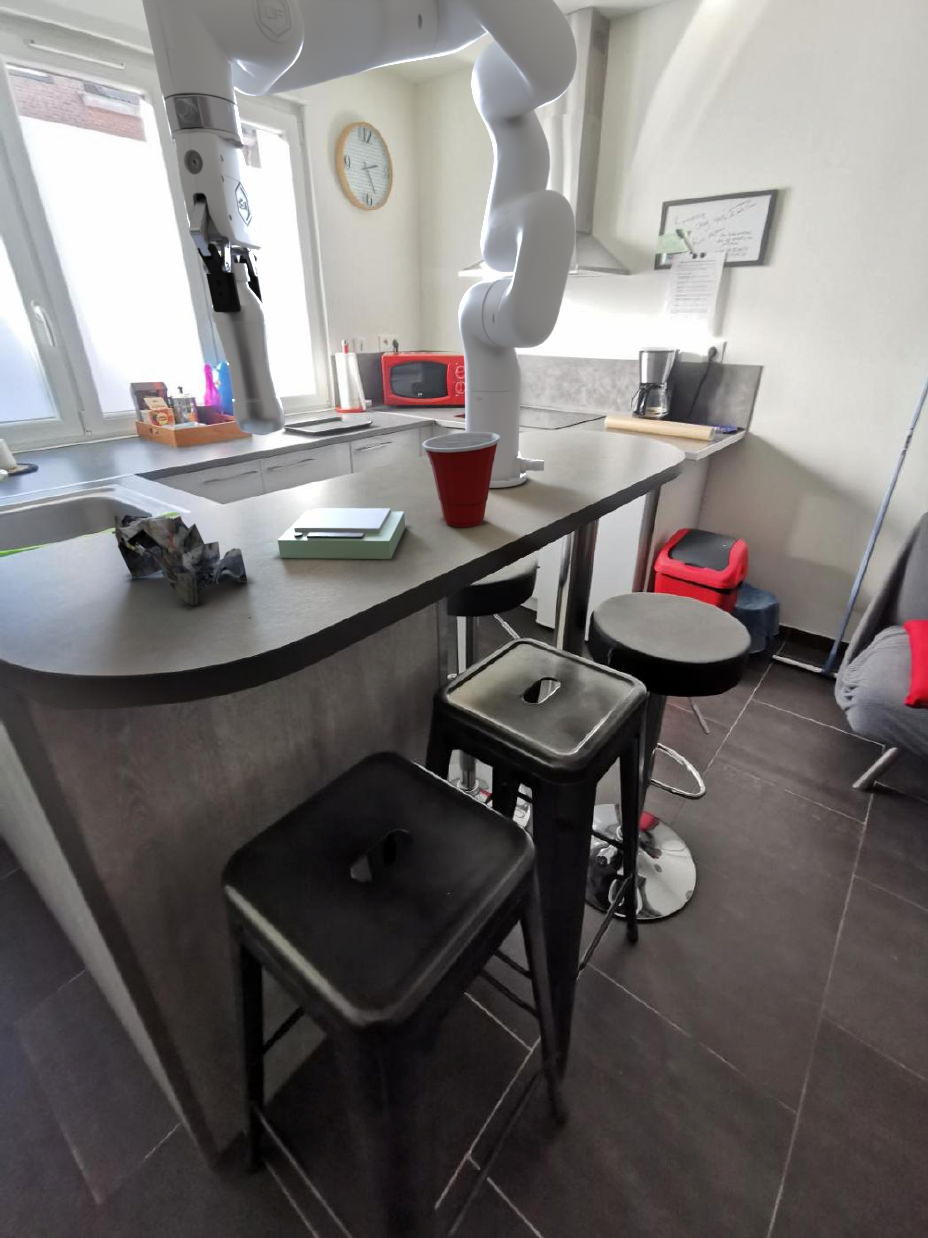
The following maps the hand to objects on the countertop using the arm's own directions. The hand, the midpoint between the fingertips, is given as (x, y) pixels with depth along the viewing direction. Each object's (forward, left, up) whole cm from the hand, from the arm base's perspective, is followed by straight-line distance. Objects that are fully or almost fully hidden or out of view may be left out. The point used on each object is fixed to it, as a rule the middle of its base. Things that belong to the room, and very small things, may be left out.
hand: (239, 310), depth 71 cm
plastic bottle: (0, 0, -15) cm, 15 cm away
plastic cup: (-28, 0, -28) cm, 39 cm away
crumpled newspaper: (+2, +23, -28) cm, 36 cm away
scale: (-13, +9, -28) cm, 31 cm away
